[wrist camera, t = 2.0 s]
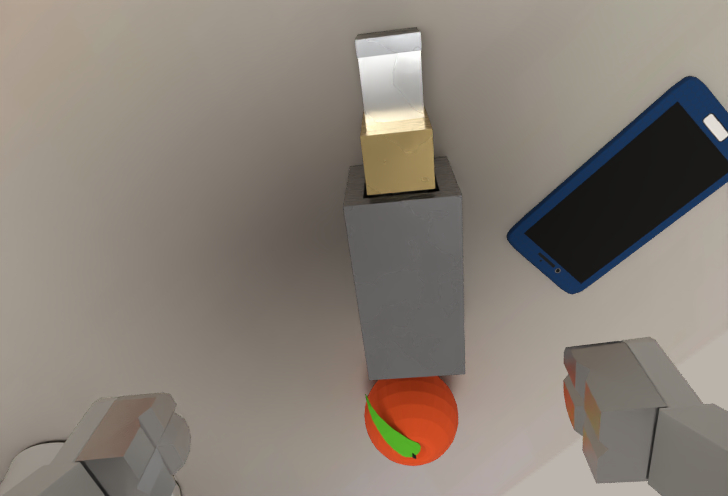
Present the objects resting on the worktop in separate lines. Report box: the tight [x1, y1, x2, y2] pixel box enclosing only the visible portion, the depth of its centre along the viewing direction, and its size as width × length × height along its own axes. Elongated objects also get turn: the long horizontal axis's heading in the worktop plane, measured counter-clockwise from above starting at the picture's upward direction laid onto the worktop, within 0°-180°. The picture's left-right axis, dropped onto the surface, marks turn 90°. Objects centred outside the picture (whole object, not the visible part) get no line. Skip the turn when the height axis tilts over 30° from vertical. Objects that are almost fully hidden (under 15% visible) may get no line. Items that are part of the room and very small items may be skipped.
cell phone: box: [507, 76, 728, 294], centre depth 30 cm, size 7×14×1 cm, turn 140°
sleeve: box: [343, 157, 465, 380], centre depth 29 cm, size 12×6×6 cm, turn 7°
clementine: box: [364, 376, 458, 466], centre depth 35 cm, size 8×7×7 cm
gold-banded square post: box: [355, 27, 435, 198], centre depth 27 cm, size 19×3×5 cm, turn 7°
